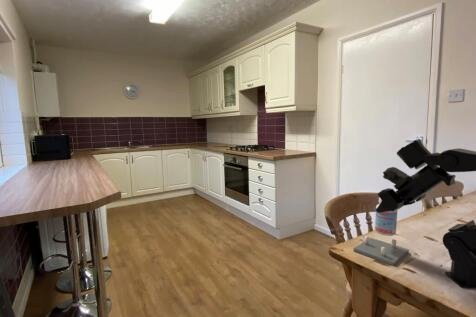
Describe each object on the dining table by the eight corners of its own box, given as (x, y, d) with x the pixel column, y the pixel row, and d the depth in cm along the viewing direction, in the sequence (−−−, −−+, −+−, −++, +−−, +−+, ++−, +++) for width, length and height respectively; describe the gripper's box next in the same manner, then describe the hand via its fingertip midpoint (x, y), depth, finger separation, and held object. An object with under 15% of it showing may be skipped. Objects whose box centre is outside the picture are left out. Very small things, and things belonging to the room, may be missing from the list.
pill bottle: (372, 233, 87) (374, 199, 85) (377, 227, 91) (379, 195, 90) (393, 238, 83) (395, 202, 81) (398, 231, 88) (400, 198, 86)
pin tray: (408, 252, 86) (409, 242, 86) (393, 265, 79) (394, 254, 78) (370, 240, 95) (370, 230, 95) (353, 251, 88) (353, 240, 87)
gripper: (416, 156, 86) (380, 184, 97) (386, 162, 76) (349, 193, 86) (444, 185, 81) (402, 211, 91) (415, 196, 70) (372, 224, 81)
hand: (382, 209), depth 87 cm, fingers closed on pill bottle, 6 cm apart
